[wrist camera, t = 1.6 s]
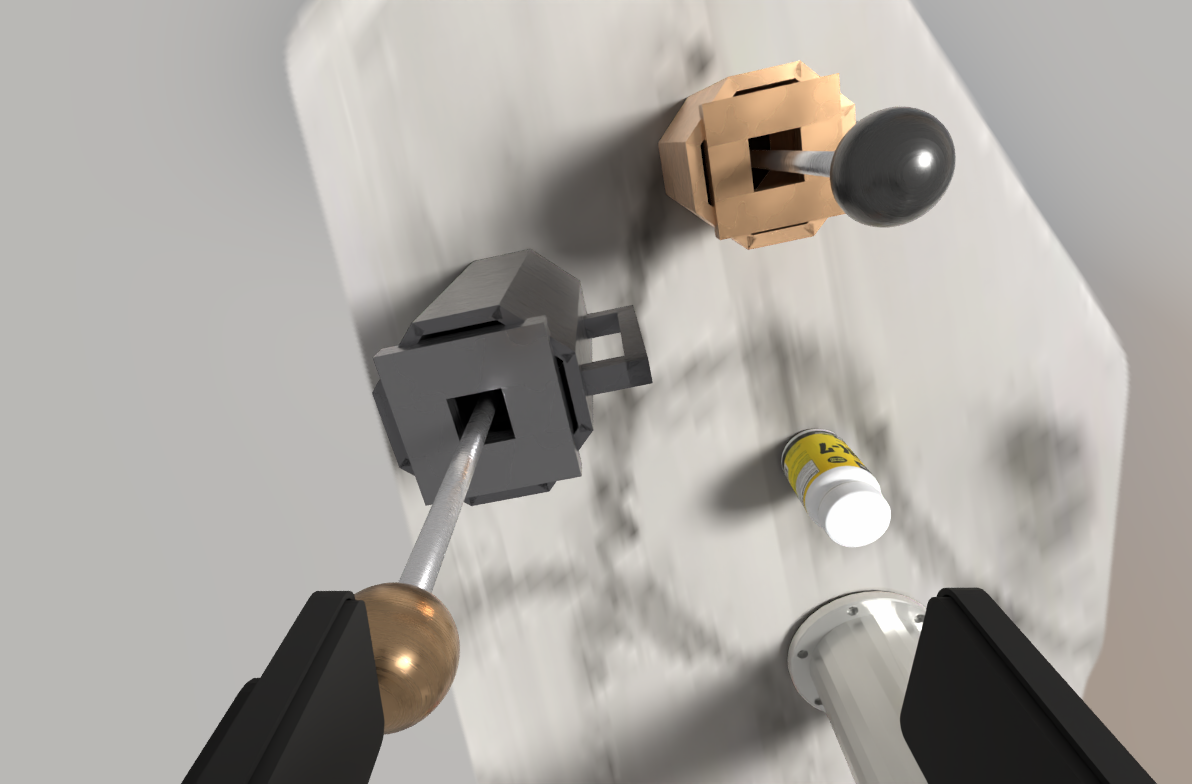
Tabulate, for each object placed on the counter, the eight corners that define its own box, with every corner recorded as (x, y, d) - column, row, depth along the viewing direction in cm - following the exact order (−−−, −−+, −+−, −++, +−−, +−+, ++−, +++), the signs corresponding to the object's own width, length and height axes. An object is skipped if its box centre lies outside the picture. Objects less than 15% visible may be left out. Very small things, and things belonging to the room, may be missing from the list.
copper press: (819, 67, 36) (923, 31, 25) (827, 195, 39) (926, 215, 27) (651, 105, 37) (679, 87, 25) (671, 228, 39) (704, 261, 28)
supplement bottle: (857, 440, 45) (914, 502, 37) (824, 493, 46) (872, 563, 39) (799, 417, 44) (844, 475, 36) (767, 472, 46) (804, 539, 38)
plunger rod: (522, 337, 31) (415, 641, 12) (537, 395, 33) (462, 757, 13) (460, 350, 32) (260, 668, 12) (477, 407, 33) (319, 780, 14)
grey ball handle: (778, 118, 30) (982, 89, 14) (784, 183, 31) (979, 220, 16) (716, 132, 30) (851, 119, 15) (724, 196, 31) (858, 245, 16)
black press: (617, 230, 39) (634, 280, 25) (642, 362, 43) (671, 477, 28) (433, 269, 40) (344, 341, 25) (472, 396, 43) (412, 525, 29)
